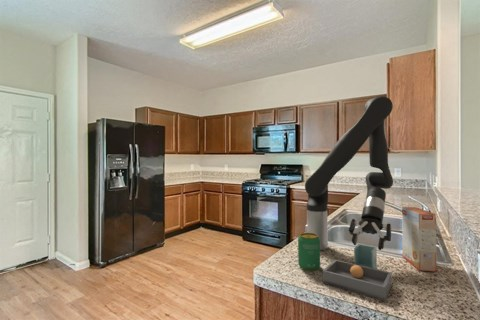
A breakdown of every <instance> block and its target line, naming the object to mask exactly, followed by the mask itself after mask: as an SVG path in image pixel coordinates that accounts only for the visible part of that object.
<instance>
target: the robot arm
mask: <svg viewBox="0 0 480 320" xmlns="http://www.w3.org/2000/svg"><path fill="white" fill-rule="evenodd" d="M393 106H394V104H393V101H392V100H391V99H390V98H389V97H386V96H383V95H382V96H375V97H371V98H370V99H368V100H367V101H366V103H365V105H364V108H363V109H364V113H363V114H362V116H361V117H360V118H359V120H358V121H357V122H356V123H355V124H354V125H353V126H352V127H350V128H349V129H348V130H347V131H346V132H345V133H343V135H342V136H341V137H340V138H339V139H338V140H337V142H336V143H335V144H334V145H333V147H332V148H331V150H330V151H329V152H328V153H327V156H326V157H325V158H324V160H323V161H322V163H321V165H320V166H319V167H318V168H317V169H316V170H315V171H314V172H313V173H312V174H311V175H310V176H309V177H308V178H307V179H306V181H305V183H304V189H305V193H307V195H308V196H307V201H306V225H304V226H305V227H304V229H305V232H304V233H314V234H317V235H318V237H319V239H320V251H324V250H327V249H328V248H329V242H328V241H329V236H328V235H329V231H328V226H329V225H328V204H329V183H330V182H331V181H332V180H333V178H334V177H335V175H336V174H337V173H339V172H340V171H341V170H343V168H344V167H345V166H346V165H348V163H350V161H351V160H353V158H354V156H355V155H356V154H357V153H358V152H359V150H360V149H361V147H362V146H363V145H364V144H365V143H366V141H367V140H368V144H369V145H368V149H369V151H368V152H369V153H368V154H369V166H370V167H372V168H375V169H379V170H380V171H381V172H377V171H376V172H375V171H371V172H368V173H367V174H366V175H365V183H366V184H365V185H366V189H367V190H366V191H367V192H366V195H365V196H366V197H365V201H364V204H363V208H362V213H361V217H360V220H356V219H355V218H351V222H350V224H349V227H348V231H349V232H348V233H349V234H350V235H351V236H352V238H351V242H352V244H353V246H357V242H358V236H360V235H363V234H364V233H365V234H371V235H376V236H377V237H378V246H377V249H378V251H382V250H383V249H385V242H390V241H391V240H392V225H391V223H387V224H383V222H384V215H385V209H386V208H385V205H386V204H385V203H386V198H387V192H386V191H385V189H386V190H387V189H390V188H392V187H393V184H394V178H393V175H392V172H391V170H390V166H389V149H388V142H387V138H386V134H385V120H386V119H387V118H388V116H390V115H391V113H392V110H393ZM358 225H359V226H358ZM383 229H384V230H385V231H386V234H385V235H384V234H383V232H382V231H381V230H383Z"/></svg>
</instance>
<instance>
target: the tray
mask: <svg viewBox="0 0 480 320" xmlns="http://www.w3.org/2000/svg"><path fill="white" fill-rule="evenodd" d="M354 265H357V264H354V263H352V262H348V261H347V262H346V261H342V260H339V259H338V260H337V259H334V260H333V261H331V263H329V265H327V266H326V267H325V268H324V269H323V270H322V283H323V284H325V285H328V286H332V287H335V288H338V289H342V290H344V291H349V292H352V293H355V294H359V295H362V296H365V297H369V298H372V299H376V300H379V301H382V302H387V299H388V296H389V293H390V291H391V289H392V286H393V272H391V271H387V270H382V269H378V268H377V269H374V268H370V267H365V266H361V265H358V266H360V267H361V268H362V269H363V276H362V277H361V278H355V277H353V276H352V275H351V272H350V269H351V267H352V266H354Z"/></svg>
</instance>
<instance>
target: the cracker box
mask: <svg viewBox="0 0 480 320" xmlns="http://www.w3.org/2000/svg"><path fill="white" fill-rule="evenodd" d="M401 208H402V209H401V215H402V217H401V218H402V219H401V220H402V222H401V223H402V224H401V225H402V226H401V227H402V231H401V232H402V257H403V258H404V259H405V260H406V261H407V262H409V263H410V264H411V265H412V266H413V267H415V268H416V269H417V270H418V271H421V272H423V271H424V272H434V273H437V222H436V221H437V214H436V213H433V212H430V211H428V210H426V209H423V208H419V207H416V206H415V207H414V206H403V207H401Z"/></svg>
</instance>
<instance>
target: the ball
mask: <svg viewBox="0 0 480 320" xmlns="http://www.w3.org/2000/svg"><path fill="white" fill-rule="evenodd" d="M350 272H351V275H352V276H353V277H355V278H361V277H362V276H363V269H362V268H361V267H360V266H358V265H354V266H352V267H351V269H350Z"/></svg>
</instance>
